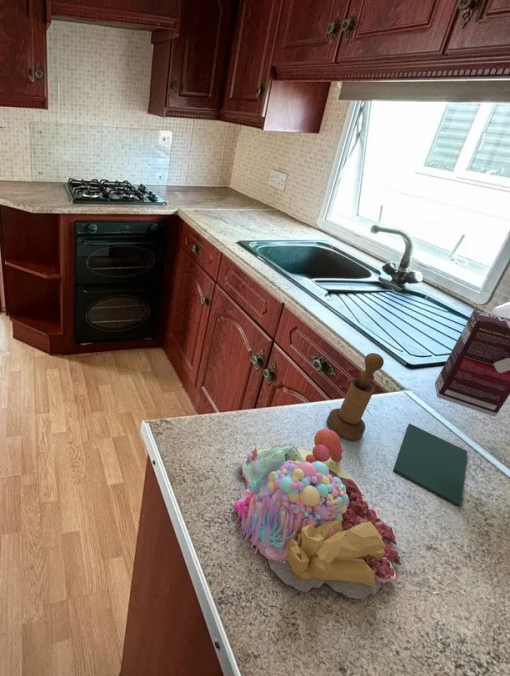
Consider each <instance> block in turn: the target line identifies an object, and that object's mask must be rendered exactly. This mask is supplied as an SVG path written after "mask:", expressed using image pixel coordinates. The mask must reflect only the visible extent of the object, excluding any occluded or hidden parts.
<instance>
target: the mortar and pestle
mask: <svg viewBox="0 0 510 676" xmlns="http://www.w3.org/2000/svg"><path fill="white" fill-rule="evenodd" d="M384 363H385V361H384V357H383V356H382V355H380V354H379V353H376V352H370V353H368V354H367V355H365V357H364V366H365V369H364V370H363V371H361V372H360V374H359V378H354V379H351V382H350V385H349V387H348V389H347V392H346V394H345V397H344V399H343V401H342V402H341V405H340V408H339V407H337V408H333V409H331V410H330V412H329V413H328V417H327V419H326V426H327V427H328V429H329V430H332V431H334V432H335V433H336V434H337V435H338V436H339V438H340V439H343V440H345V441H349V442H356V441H359V440H361V439H362V437H363V435H364V434H365V431H366V423H365V422H364V420H363V419H362V418H363V415H364V413H365V411H366V409H367V407H368V404H369V402H370V401H371V398H372V396H373V395H374V392H375V390H376V389H375V386H374V385H373V384H372V382H373V381H374V379H375V376H374V373H376V372H377V371H379V370H380V369H382V368H383V366H384Z"/></svg>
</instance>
